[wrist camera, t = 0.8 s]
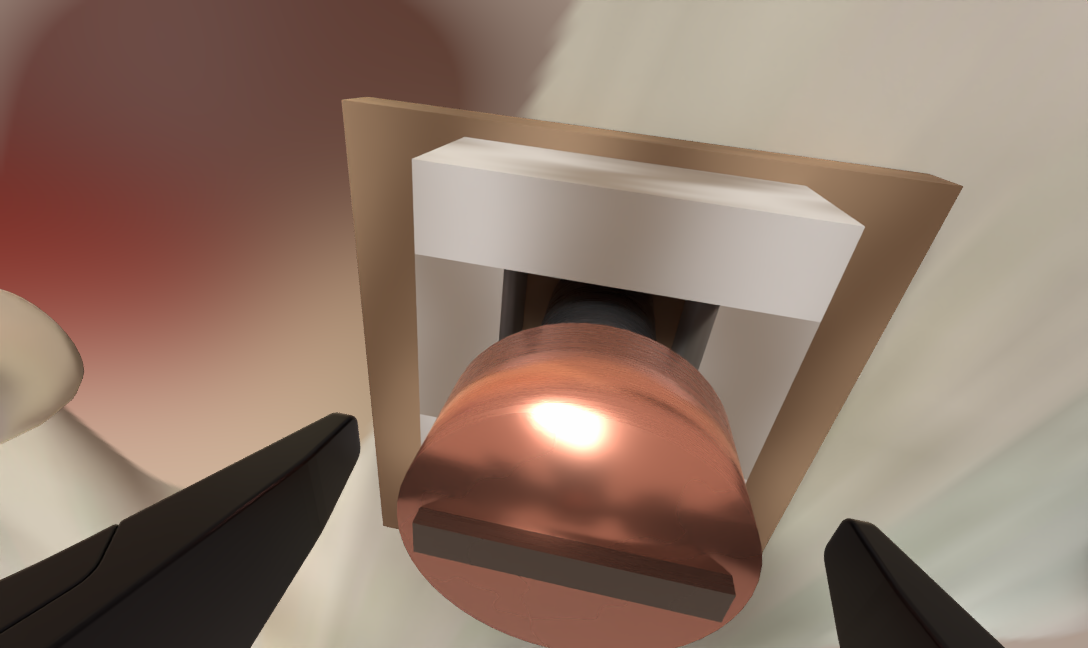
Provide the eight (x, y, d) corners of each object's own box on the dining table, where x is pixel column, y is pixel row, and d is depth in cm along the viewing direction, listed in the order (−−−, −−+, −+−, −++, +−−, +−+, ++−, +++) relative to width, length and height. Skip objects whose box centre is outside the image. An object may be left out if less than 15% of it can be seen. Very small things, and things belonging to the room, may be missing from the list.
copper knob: (718, 239, 13) (837, 480, 5) (669, 397, 16) (703, 704, 8) (520, 208, 13) (375, 389, 6) (507, 367, 16) (397, 628, 9)
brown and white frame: (928, 173, 13) (1083, 230, 8) (727, 572, 22) (751, 699, 17) (368, 96, 14) (250, 110, 10) (397, 499, 23) (342, 599, 19)
